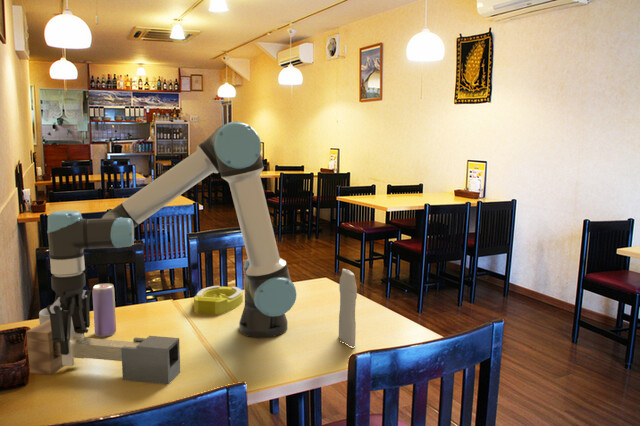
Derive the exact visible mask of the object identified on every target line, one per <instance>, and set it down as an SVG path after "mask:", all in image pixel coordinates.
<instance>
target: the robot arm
mask: <svg viewBox="0 0 640 426" xmlns="http://www.w3.org/2000/svg"><path fill="white" fill-rule="evenodd" d="M261 153H262V141H261V139H260V136H259V134H258V132H257V131H256V130H255V129H254V128H253V127H252V126H251V125H250V124H247V123H246V122H242V121H230V122H228V123H224V124H222V125H220V126H219V127H217V128H216V129H215V130H214V132H212V133H211V135H209V136H208V137H207V138H206V139H205V140H204V141H202V142H201V143H200V144H198V145H197V146H196V151H194V152H192V154H190V155H189V156H187V157H186V158H184V159H183V160H181V161H180V162H178V163H177V164H176V165H174V166H172V167H171V168H169V170H167V171H165V172H164V173H162V174H160V176H158V177H157V178H156V179H154V180H153V181H151V182H150V183H148V184H146V186H144V187H143V188H141V189H139V190H138V191H137V192H136V193H134V194H132V195H131V196H129V197H128V198H127V199H126V200H124V201H122V203H120V204H118V205H117V206H116V207H113V208H112V209H110V210H108V211H107V212H104V214H103V215H102V216H101V218H83V216H82V213H81V211H78V210H60V211H59V210H58V211H54V212H51V213H50V214H48V216H47V231H46V233H47V239H48V241H47V242H48V249H49V252H48V253H49V261H50V262H49V263H50V273H51V274H52V275H51V276H50V279H51V280H50V282H51V283H50V284H51V289H52V291H54V292H55V298H54V302H53V303H52V304H49V305H47V306H46V308H47V310H48V312H49V314H50V322H51V331H52V339H53V342H58V343H60V351H61V355H62V365H65V366H67V367H73V366H74V365H75V359H82V358H81V357H74V355H73V340H70V330H71V317H72V322H73V326H74V331H75V332H76V333H73V334H72V337H81V338H85V334H87V333H89V329H88V328H90V327H91V319H90V318H91V317H90V316H91V315H90V298H91V294H92V293H91V290H88V289H87V290H85V289H84V287H85V286H86V273H85V272H84V271H85V270H86V266H85V253H84V250H91V249H92V250H93V249H94V250H95V249H112V248H113V249H116V248H117V249H121V248H127V247H132V245H134V242H135V228H136V227H137V226H138V225H140V224H141V223H143V222H144V221H145V220H147V219H148V218H150V217H151V216H153V215H154V214H156V213H157V212H158V211H160V210H161V209H163V208H164V207H165V206H167V205H168V204H170V203H171V202H173V201H174V200H176V199H177V198H178V197H180V196H181V195H182V194H184V193H186V192H187V191H188V190H190V189H192V188H193V187H194V186H195V185H197V184H198V183H200V182H201V181H202V180H204V179H205V178H207V177H208V176H210V175H211V174H213V173H214V174H218V173H220V177H221V179H223V180H225V181H226V182H227V183H228V185H229V188H230V192H231V197H232V201H233V205H234V209H235V213H236V216H237V220H238V221H237V222H238V225H239V227H240V232H241V235H242V240H243V245H244V248H245V252H246V256H247V259H245V261H244V265H243V266H244V267H243V270H244V271H243V272H244V274H243V275H244V306H243V310H242V313H241V316H240V319H239V322H238V323H239V324H238V325H239V326H238V329H239V332H240V333H241V334H243V335H244V336H247V337H251V338H257V339H258V338H259V339H260V338H261V339H264V338H273V337H277V336H280V335H282V334H284V333H285V332H286V331H287V330H288V319H287V316H286V313H288V312H289V311H290V310H291V309H292V307H294V305H295V303H296V299H297V288H296V286H295V284H294V283H293V282H292V280H291V276H290V272H289V267H288V263H287V261H286V260H285V259H283V258H281V257H280V254H279V249H278V245H277V241H276V240H277V239H276V237H275V232H274V228H273V224H272V221H271V215H270V212H269V208H268V204H267V199H266V195H265V191H264V186H263V182H262V178H261V173H262V172H263V170H264V168H265V167H264V163H263V158H262V154H261ZM64 310H65V311H64ZM84 322H85V323H84ZM86 328H87V329H86ZM279 334H280V335H279ZM276 335H277V336H276ZM65 366H64V367H65Z"/></svg>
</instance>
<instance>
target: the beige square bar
mask: <svg viewBox="0 0 640 426" xmlns="http://www.w3.org/2000/svg"><path fill="white" fill-rule="evenodd" d="M70 340H73V355H74V357H81V358H80V359H93V360H104V361H115V362H122V354H121V348H122V347H123V346H125V347H136V346H137V345H138V344H140V342H134V341H127V340H116V339H115V340H114V339H103V338H102V339H101V338H91V337H90V338H89V337H84V338H81V337H70ZM53 351H54V355H59V356H62V355H61V351H60V343H58V342H53Z"/></svg>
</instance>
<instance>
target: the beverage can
mask: <svg viewBox="0 0 640 426" xmlns="http://www.w3.org/2000/svg"><path fill="white" fill-rule="evenodd" d="M91 294H92V306H93V307H92V308H93V309H92V310H93V324H94V325H93V327H94V334H95V335H96V336H97V337H99V338H107V337H111V336H113V335H115V333H116V332H117V317H116V301H115V298H116V297H115V287H114V284H113V283H98V284H95V285H94V286H93V287H92V293H91Z"/></svg>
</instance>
